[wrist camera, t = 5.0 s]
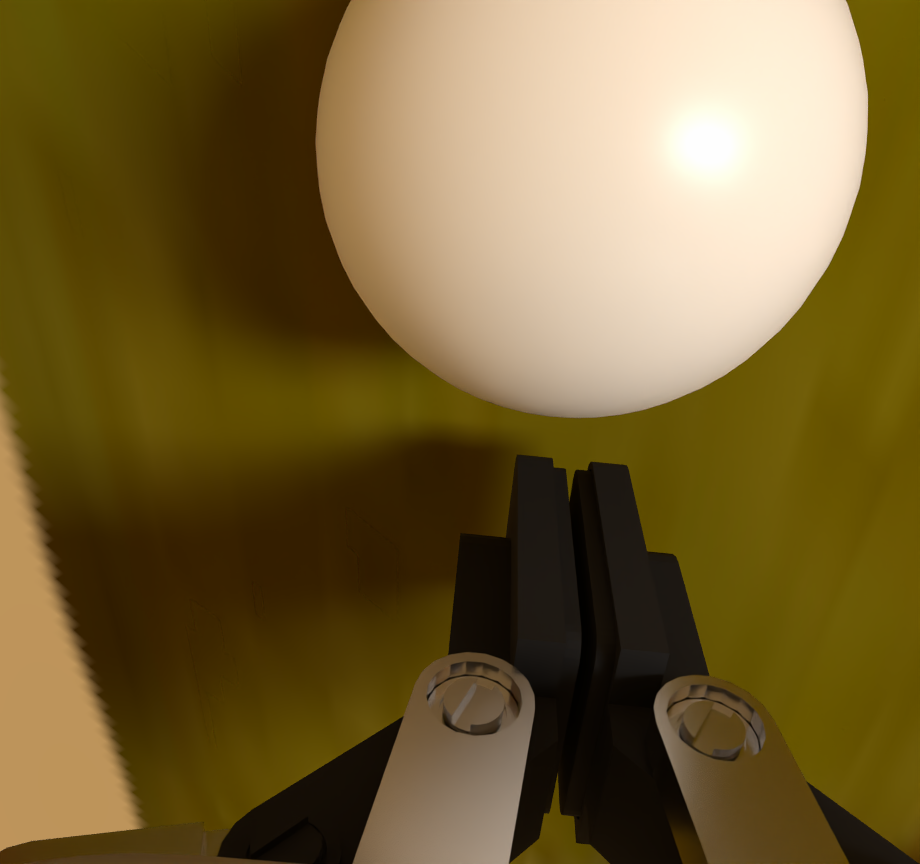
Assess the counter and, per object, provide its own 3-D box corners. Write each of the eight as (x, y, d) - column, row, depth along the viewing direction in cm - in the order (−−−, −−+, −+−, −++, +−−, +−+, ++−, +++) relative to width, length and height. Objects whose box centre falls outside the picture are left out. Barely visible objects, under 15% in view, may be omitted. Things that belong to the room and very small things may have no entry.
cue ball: (1002, -140, 4) (838, -297, 8) (106, 66, 6) (316, -143, 9) (888, 515, 8) (813, 203, 12) (366, 531, 10) (445, 253, 13)
